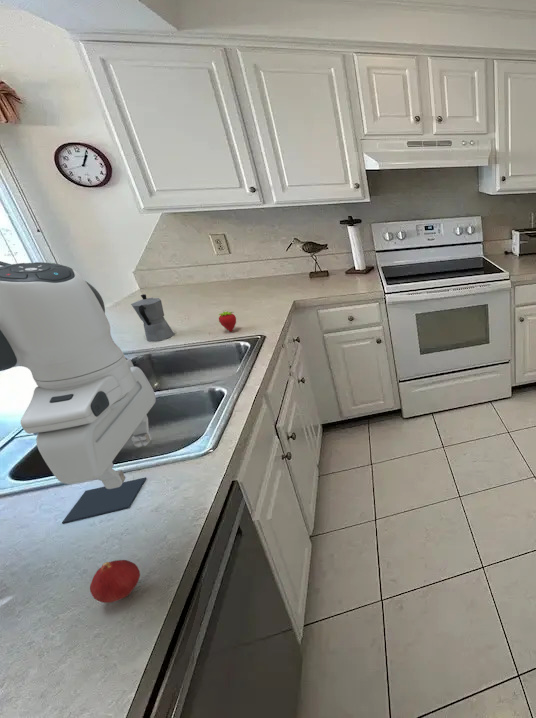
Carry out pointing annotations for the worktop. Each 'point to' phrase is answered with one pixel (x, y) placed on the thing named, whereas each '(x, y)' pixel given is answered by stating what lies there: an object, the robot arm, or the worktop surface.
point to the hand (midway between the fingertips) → (131, 462)
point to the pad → (105, 500)
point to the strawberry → (227, 320)
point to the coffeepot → (153, 318)
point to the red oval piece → (114, 581)
